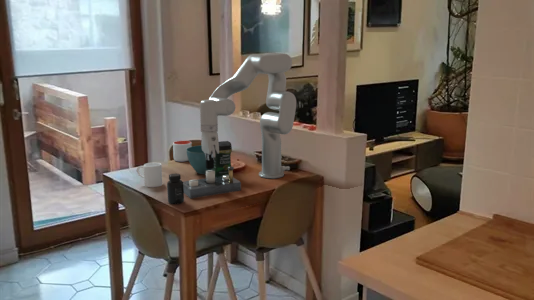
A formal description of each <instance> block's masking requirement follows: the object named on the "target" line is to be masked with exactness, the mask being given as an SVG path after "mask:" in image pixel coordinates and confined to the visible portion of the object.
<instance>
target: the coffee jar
mask: <svg viewBox="0 0 534 300" xmlns="http://www.w3.org/2000/svg"><path fill="white" fill-rule="evenodd" d="M232 150H233V147H232V142H230V141H228V140H222V141H219V154H216V153H215V158H214V168H213V169H212V170H214V171H215V177H219V176H223V175H229V170H228V167H229V166H232V160H231V154H232V152H233V151H232Z"/></svg>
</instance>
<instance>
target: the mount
mask: <svg viewBox="0 0 534 300" xmlns="http://www.w3.org/2000/svg"><path fill="white" fill-rule="evenodd" d="M197 180H198V186H192V187H190V186H189V181H190V180H184V181H183V187H184V195H186V196H187V197H188V198H189V199H197V198H202V197H208V196H209V197H210V196H215V195H222V194H228V193H235V192H240V191H242V182H241V181H240V180H238V179H236V178H235V177H233V182H232V183H229V175H223V176H219V177H215V183H206V177H205V178H201V179H200V178H199V179H198V178H197Z"/></svg>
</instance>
